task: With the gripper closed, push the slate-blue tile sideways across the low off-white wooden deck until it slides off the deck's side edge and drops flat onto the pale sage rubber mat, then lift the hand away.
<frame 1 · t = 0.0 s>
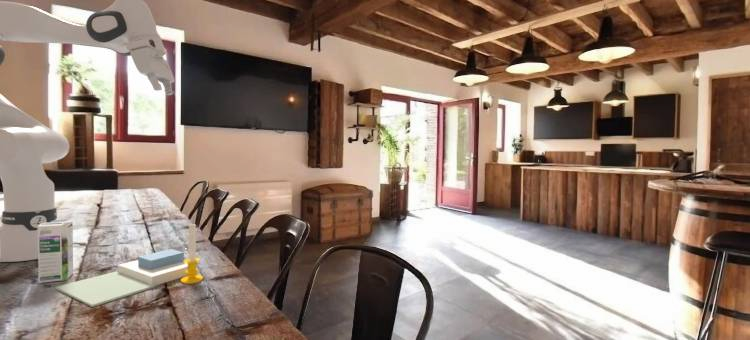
hand: (164, 92, 113), 52 cm above the table, tool tilted 20°, fingers open, 8 cm apart
tile: (161, 263, 98), point 2 cm above the table, touching deck
syrup box: (56, 279, 91), on the table
candle: (191, 280, 93), on the table
deck: (157, 273, 97), on the table
mat: (105, 288, 86), on the table
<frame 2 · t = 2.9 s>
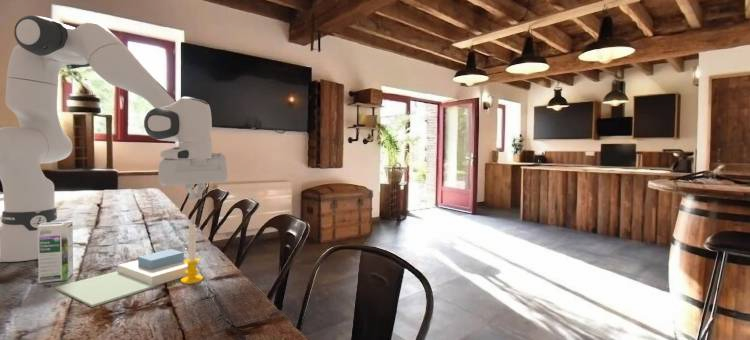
hand: (195, 198, 106), 19 cm above the table, tool pointing down, fingers closed
nothing on the table moved.
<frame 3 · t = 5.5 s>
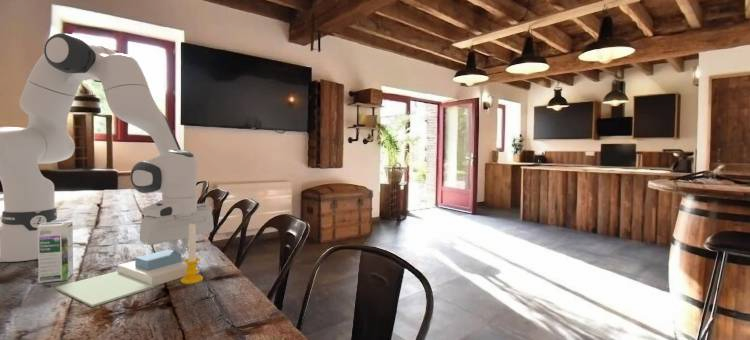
hand: (179, 253, 102), 4 cm above the table, tool pointing down, fingers closed
nothing on the table moved.
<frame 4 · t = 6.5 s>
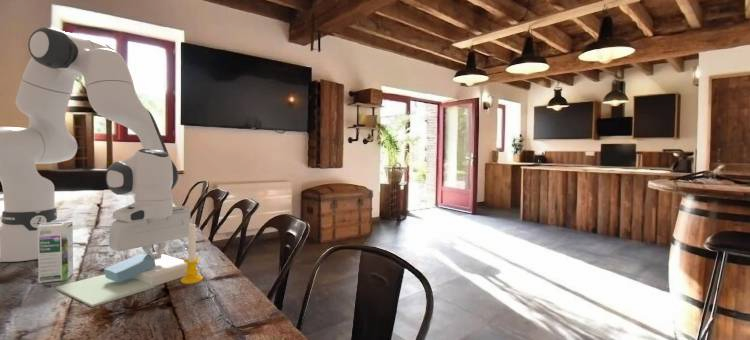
hand: (154, 259, 96), 4 cm above the table, tool pointing down, fingers closed
tile: (131, 271, 91), point 2 cm above the table, tilted 10°, touching deck, gripper
everything else where it was.
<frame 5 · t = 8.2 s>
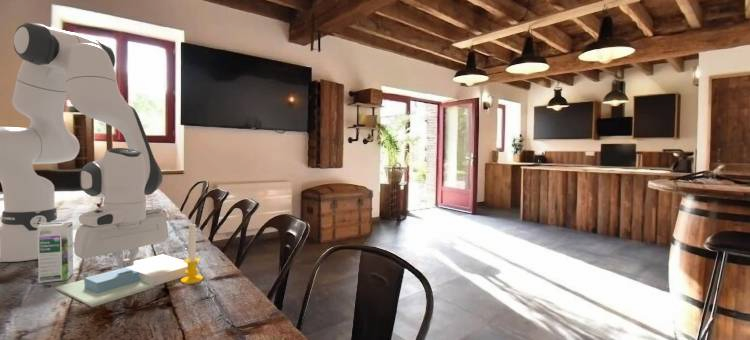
hand: (125, 266, 90), 4 cm above the table, tool pointing down, fingers closed
tile: (112, 284, 87), resting on mat
everything else where it was.
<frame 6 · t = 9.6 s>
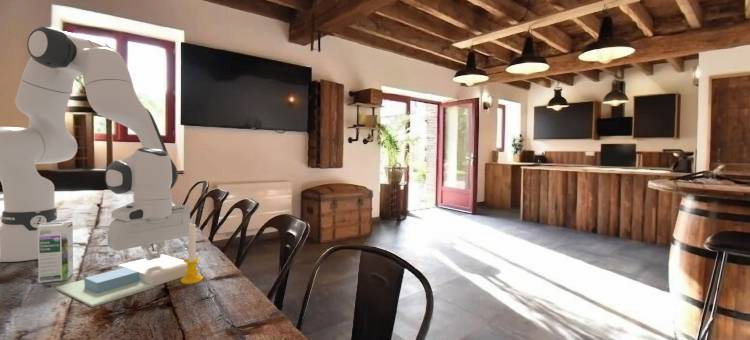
hand: (153, 259, 96), 4 cm above the table, tool pointing down, fingers closed
nothing on the table moved.
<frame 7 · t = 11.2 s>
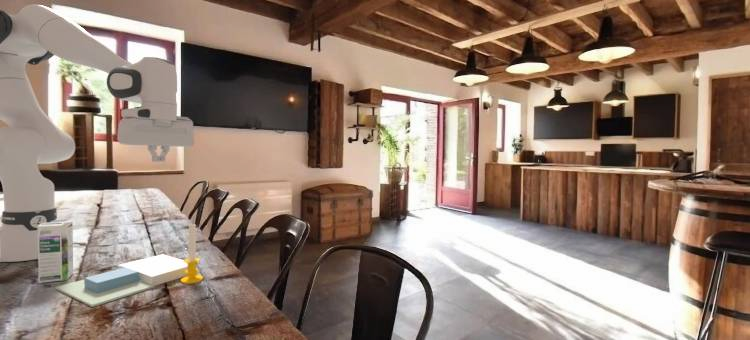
hand: (158, 161, 103), 30 cm above the table, tool pointing down, fingers closed
nothing on the table moved.
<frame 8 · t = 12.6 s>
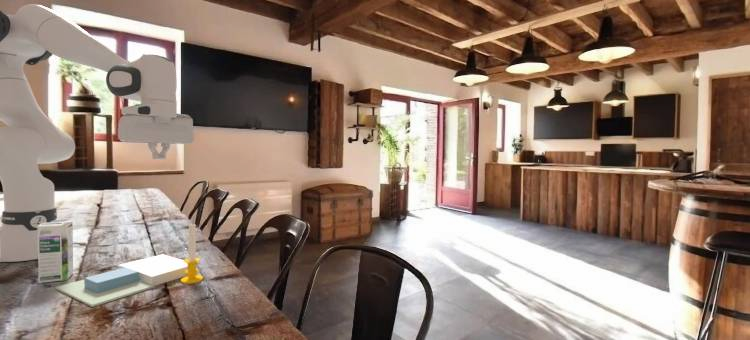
hand: (159, 159, 103), 31 cm above the table, tool pointing down, fingers closed
nothing on the table moved.
at the end: tile inside the target area (3.3 cm from its centre), point 0.5 cm above the table; tile point 0.5 cm above the table; tile tilted 0° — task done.
